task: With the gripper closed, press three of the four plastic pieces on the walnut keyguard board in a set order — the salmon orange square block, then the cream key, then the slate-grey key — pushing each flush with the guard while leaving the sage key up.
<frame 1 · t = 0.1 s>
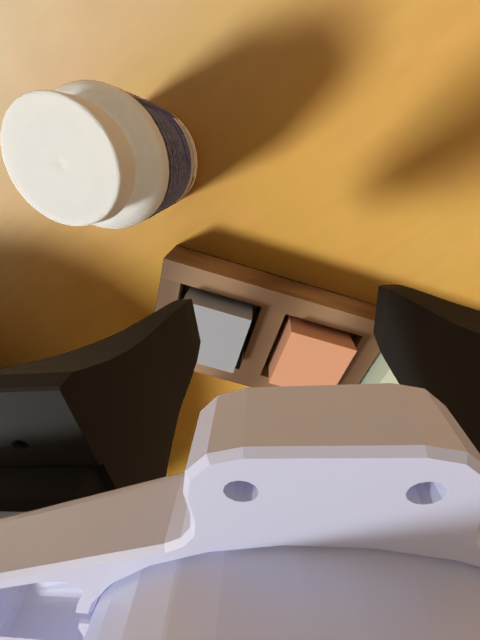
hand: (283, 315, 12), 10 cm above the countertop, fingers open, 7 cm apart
key sage: (400, 382, 21), point 3 cm above the countertop, slide at 0.0 cm
salmon orange square block: (308, 356, 21), point 3 cm above the countertop, slide at 0.0 cm
key slate: (212, 329, 20), point 3 cm above the countertop, slide at 0.0 cm
pill bottle: (156, 159, 18), on the countertop
keyguard board: (345, 346, 24), on the countertop
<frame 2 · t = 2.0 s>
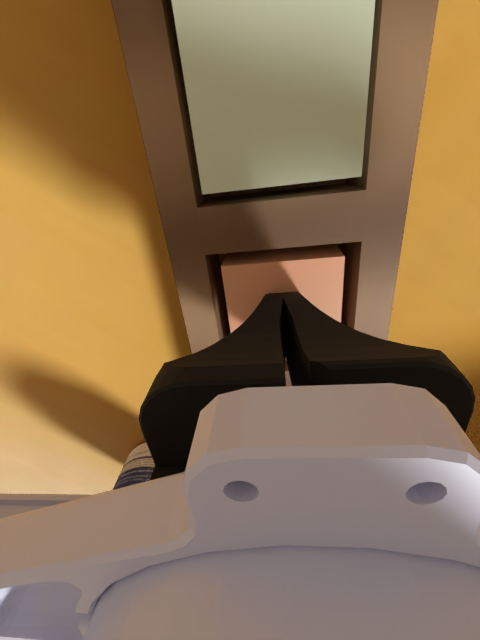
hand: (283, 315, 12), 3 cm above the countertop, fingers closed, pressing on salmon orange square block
key sage: (274, 95, 8), point 3 cm above the countertop, slide at 0.0 cm
salmon orange square block: (282, 302, 13), point 2 cm above the countertop, slide at 1.3 cm, touching gripper
pill bottle: (166, 460, 22), on the countertop
keyguard board: (277, 210, 13), on the countertop
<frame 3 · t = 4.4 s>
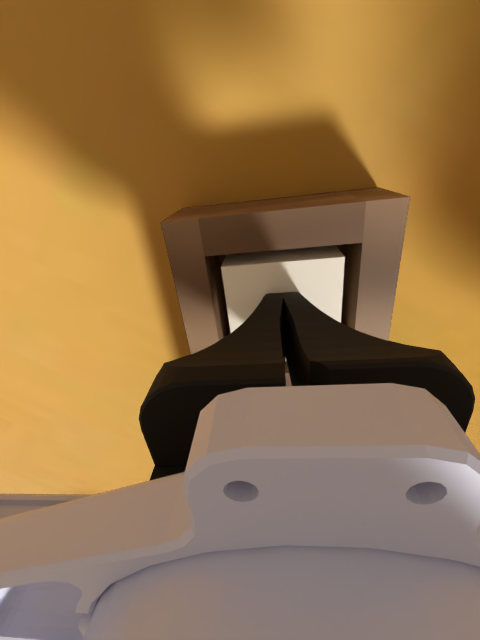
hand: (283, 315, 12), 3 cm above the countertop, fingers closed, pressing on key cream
key cream: (282, 302, 13), point 2 cm above the countertop, slide at 1.4 cm, touching gripper
keyguard board: (288, 438, 19), on the countertop
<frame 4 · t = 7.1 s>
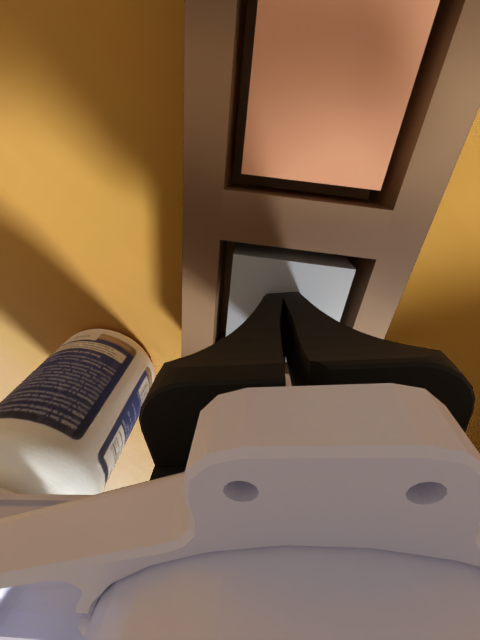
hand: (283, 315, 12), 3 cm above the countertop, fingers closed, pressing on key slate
salmon orange square block: (321, 102, 9), point 2 cm above the countertop, slide at 1.4 cm
key slate: (282, 302, 13), point 2 cm above the countertop, slide at 1.4 cm, touching gripper
pill bottle: (113, 363, 17), on the countertop
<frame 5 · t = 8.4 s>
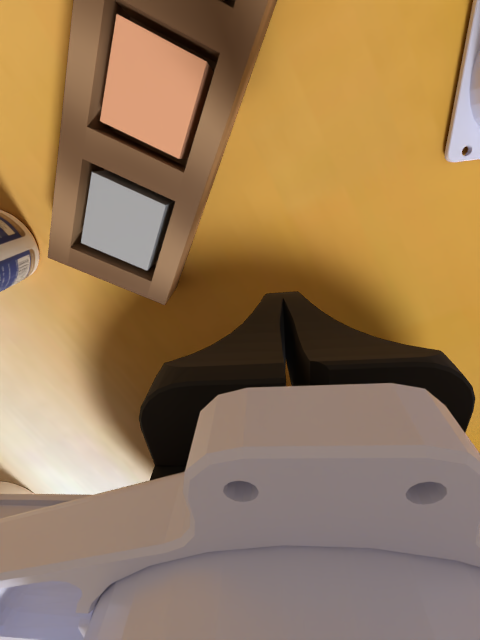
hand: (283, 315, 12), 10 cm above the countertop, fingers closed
salmon orange square block: (158, 97, 16), point 2 cm above the countertop, slide at 1.4 cm
key slate: (129, 221, 19), point 2 cm above the countertop, slide at 1.4 cm
pill bottle: (8, 243, 22), on the countertop
keyguard board: (185, 25, 16), on the countertop
bottle: (14, 498, 40), on the countertop
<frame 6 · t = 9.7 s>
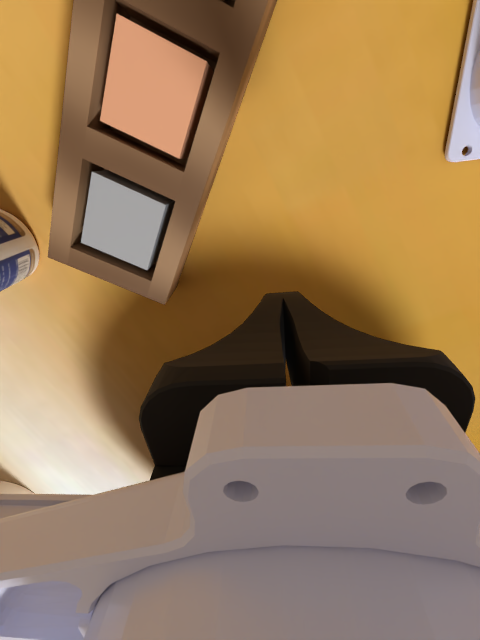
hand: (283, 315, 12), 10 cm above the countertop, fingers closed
salmon orange square block: (158, 96, 16), point 2 cm above the countertop, slide at 1.4 cm
key slate: (129, 220, 19), point 2 cm above the countertop, slide at 1.4 cm
pill bottle: (8, 243, 22), on the countertop
keyguard board: (185, 25, 16), on the countertop
bottle: (14, 497, 40), on the countertop
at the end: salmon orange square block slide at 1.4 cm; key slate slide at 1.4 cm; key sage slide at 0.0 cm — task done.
